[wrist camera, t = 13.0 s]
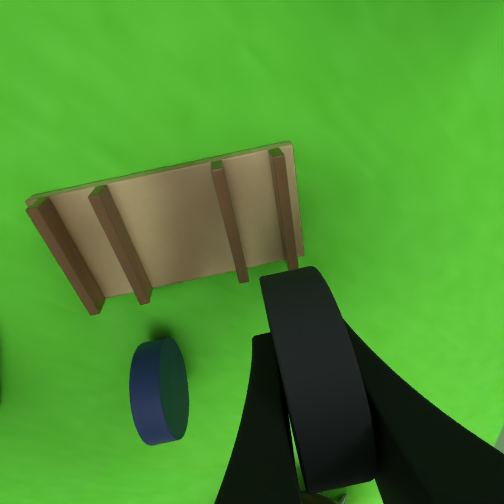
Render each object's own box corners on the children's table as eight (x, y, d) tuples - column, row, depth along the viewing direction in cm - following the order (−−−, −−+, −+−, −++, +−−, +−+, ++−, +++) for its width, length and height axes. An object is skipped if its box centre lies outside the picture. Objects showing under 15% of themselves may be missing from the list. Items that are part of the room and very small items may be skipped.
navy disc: (168, 377, 26) (159, 464, 21) (139, 323, 23) (120, 411, 17) (190, 372, 26) (187, 458, 21) (165, 318, 23) (153, 404, 17)
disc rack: (89, 295, 21) (78, 318, 19) (31, 195, 17) (9, 213, 15) (301, 249, 21) (310, 268, 19) (289, 140, 17) (299, 151, 15)
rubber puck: (276, 360, 15) (315, 534, 9) (251, 242, 12) (288, 405, 6) (314, 352, 15) (375, 521, 9) (300, 231, 12) (382, 385, 6)
